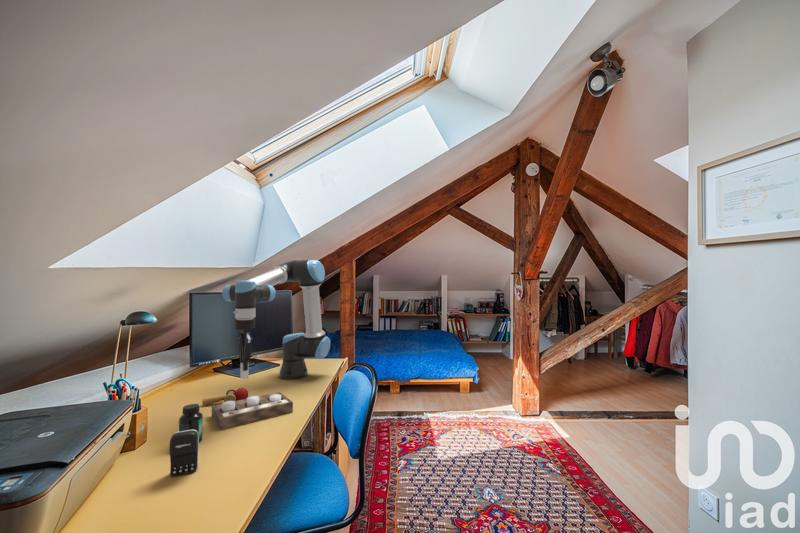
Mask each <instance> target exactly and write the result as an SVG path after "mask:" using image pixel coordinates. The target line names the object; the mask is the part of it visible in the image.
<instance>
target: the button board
mask: <svg viewBox="0 0 800 533" xmlns="http://www.w3.org/2000/svg"><path fill="white" fill-rule="evenodd" d="M274 394H280V395H281V400H280V401H275V402H270V396H271V395H274ZM258 396H259V405H257V406H253V407H248V408H247V399H243V400H238V401H235V411H231V412H226V413H222V403H221V404H216V405H211V417H212V419H213V421H214V422H215V424H216V426H217V429H218V430H219V431H222V430H226V429H229V428H230V429H231V428H234V427H238V426H241V425H242V426H243V425H245V424H250V423H255V422H258V420H259V421H261V420H262V419H263V420H266V418H267V419H271V418H273V417H278V416H282V415H286V414H290V413H293V412H294V402H293V401H292V399H289V397H287V396H286V395H285V394H283V393H282V392H280V391H277V392H272V393H268V394H262V395H258ZM270 417H271V418H270ZM254 421H255V422H254Z"/></svg>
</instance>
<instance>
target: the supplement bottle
mask: <svg viewBox="0 0 800 533" xmlns="http://www.w3.org/2000/svg"><path fill="white" fill-rule="evenodd" d="M181 412H182V413H181V414H182V415H181V416H180V417H179V419H178V432H179V431H184V430H191V429H194V430H197V432H198V435H199V443H201V442H202V441H203V430H204V429H203V428H204V426H203V425H204V424H203V421H204V420H203V413H202V412H201V411H200V404H199V403H191V404H186V405H184V406H183V407H182V411H181Z"/></svg>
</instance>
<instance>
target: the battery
mask: <svg viewBox="0 0 800 533" xmlns="http://www.w3.org/2000/svg"><path fill="white" fill-rule="evenodd" d="M168 449H169V452H168V453H169V454H168V455H169V457H170V458H169V460H170V472H169V475H170V476H171V477H177V476H183V475H188V474H192V473H195V472H196V471H197V470H198V469H199V468H198V467H199V435H198V432H197V430H194V429H191V430H184V431H179V430H178V431H176V432H174V433H172V435H171V437H170V440H169V448H168Z"/></svg>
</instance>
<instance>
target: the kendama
mask: <svg viewBox="0 0 800 533" xmlns="http://www.w3.org/2000/svg"><path fill="white" fill-rule="evenodd" d="M248 397H249V390H248V389H247V388H245V387H239V388H237V389H234V388H229V389H228V390H227V391H226V393H225V395H221V396H214V397H210V398H203V399H202V401H201V402H202V406H203V407H206V406H210V405H213V404H216V403H220V402H222V401H223V402H226V401H238V400H243V399H247V398H248Z"/></svg>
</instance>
